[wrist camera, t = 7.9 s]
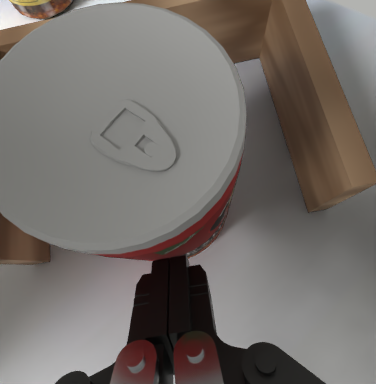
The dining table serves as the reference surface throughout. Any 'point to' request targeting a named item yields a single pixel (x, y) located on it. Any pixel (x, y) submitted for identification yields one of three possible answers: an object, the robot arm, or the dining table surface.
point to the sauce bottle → (40, 7)
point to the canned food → (120, 133)
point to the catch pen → (280, 91)
